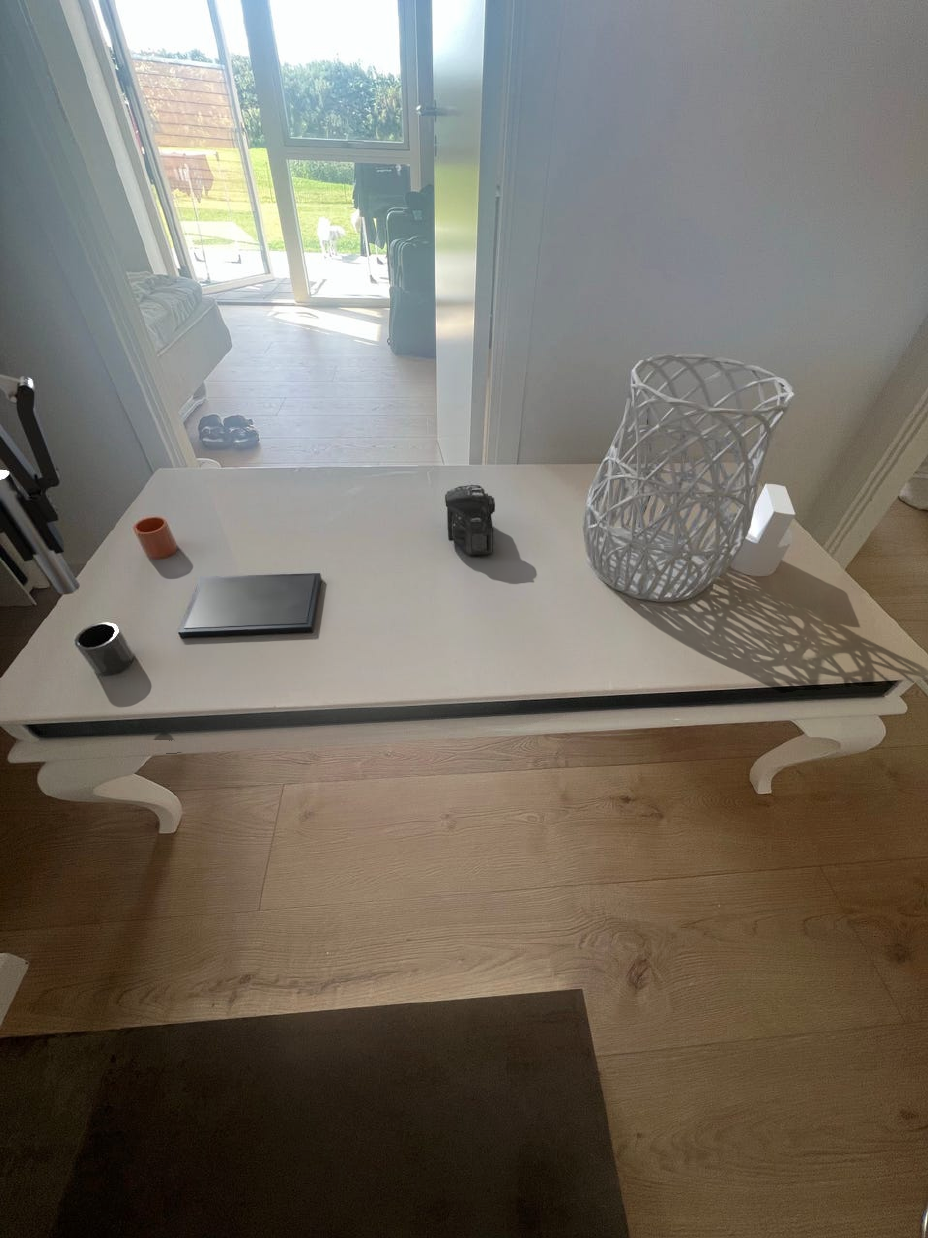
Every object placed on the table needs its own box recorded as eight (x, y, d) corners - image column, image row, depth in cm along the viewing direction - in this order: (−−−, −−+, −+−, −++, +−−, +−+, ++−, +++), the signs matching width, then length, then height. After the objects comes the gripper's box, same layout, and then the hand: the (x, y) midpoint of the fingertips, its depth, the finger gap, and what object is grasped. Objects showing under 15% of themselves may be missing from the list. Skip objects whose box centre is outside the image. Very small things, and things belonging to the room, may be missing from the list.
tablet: (180, 638, 72) (177, 631, 72) (203, 582, 81) (200, 576, 80) (312, 632, 74) (311, 626, 73) (321, 578, 83) (320, 572, 82)
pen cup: (147, 562, 84) (135, 536, 81) (144, 546, 87) (131, 521, 84) (179, 553, 86) (168, 528, 82) (174, 538, 89) (164, 513, 85)
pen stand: (94, 681, 67) (75, 654, 63) (92, 656, 70) (73, 630, 66) (136, 667, 68) (119, 641, 65) (132, 643, 71) (116, 617, 68)
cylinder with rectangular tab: (718, 540, 93) (745, 480, 85) (771, 549, 92) (805, 488, 84) (723, 570, 87) (753, 508, 79) (780, 580, 86) (817, 518, 77)
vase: (636, 630, 76) (710, 431, 55) (547, 540, 92) (579, 359, 71) (754, 587, 84) (858, 399, 63) (655, 511, 100) (711, 340, 79)
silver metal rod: (60, 600, 60) (-19, 483, 49) (60, 589, 61) (-18, 472, 51) (82, 595, 61) (9, 477, 50) (81, 584, 62) (9, 468, 52)
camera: (428, 524, 94) (427, 474, 87) (478, 513, 97) (481, 464, 90) (459, 567, 86) (461, 515, 79) (512, 553, 89) (518, 502, 82)
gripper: (4, 284, 46) (119, 515, 62) (-236, 301, 40) (-39, 551, 56) (1, 305, 41) (125, 549, 57) (-271, 327, 35) (-46, 591, 51)
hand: (44, 549), depth 57 cm, fingers closed on silver metal rod, 2 cm apart
